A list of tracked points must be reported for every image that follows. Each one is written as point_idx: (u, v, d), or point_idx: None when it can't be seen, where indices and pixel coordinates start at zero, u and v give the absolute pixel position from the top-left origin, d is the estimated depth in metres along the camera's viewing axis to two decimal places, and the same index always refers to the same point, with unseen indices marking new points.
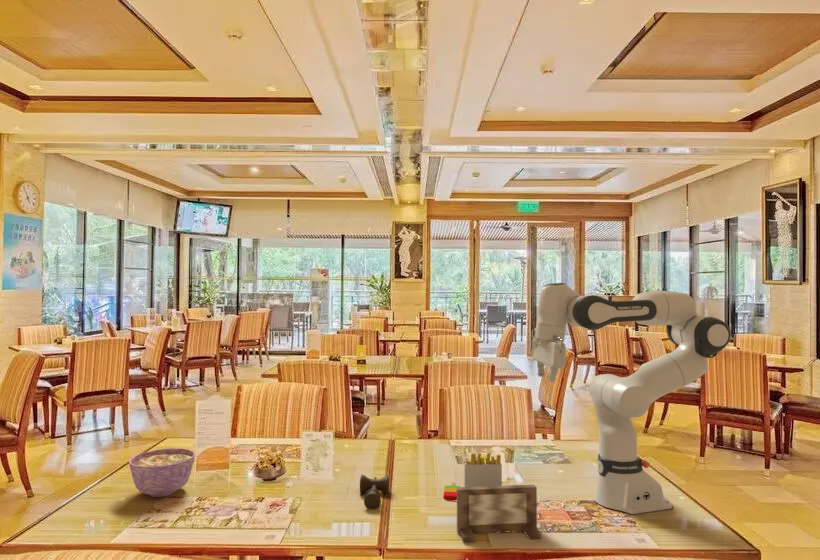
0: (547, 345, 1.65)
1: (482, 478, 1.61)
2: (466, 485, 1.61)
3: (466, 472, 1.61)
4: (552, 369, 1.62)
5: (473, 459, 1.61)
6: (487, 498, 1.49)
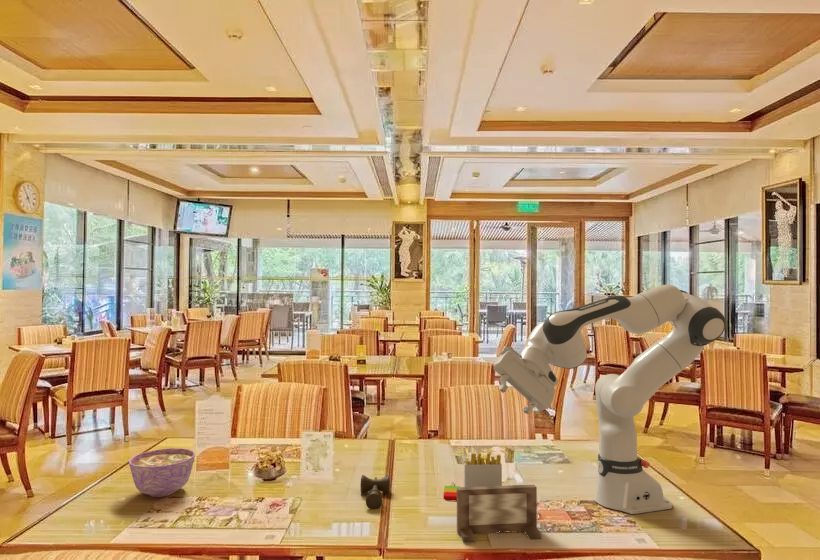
0: None
1: (482, 478, 1.61)
2: (466, 485, 1.61)
3: (466, 472, 1.61)
4: (501, 376, 1.55)
5: (473, 459, 1.61)
6: (487, 498, 1.49)
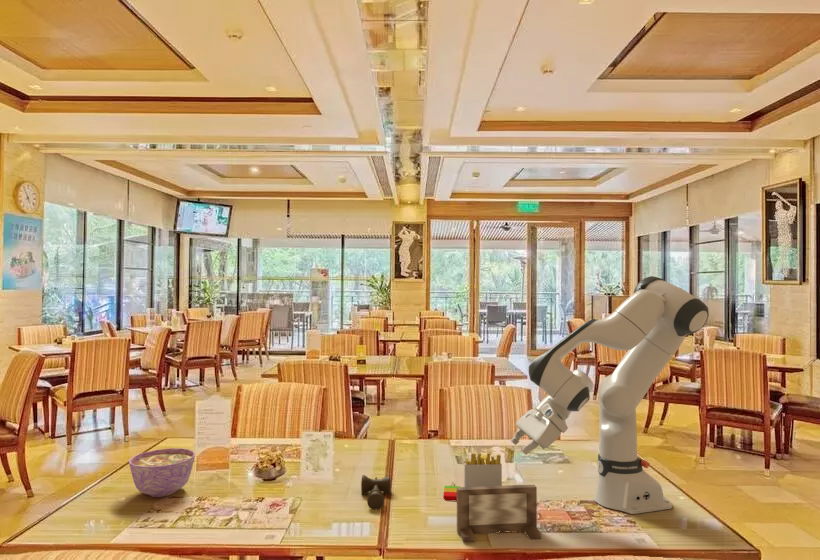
0: None
1: (482, 478, 1.61)
2: (466, 485, 1.61)
3: (466, 472, 1.61)
4: None
5: (473, 459, 1.61)
6: (487, 498, 1.49)
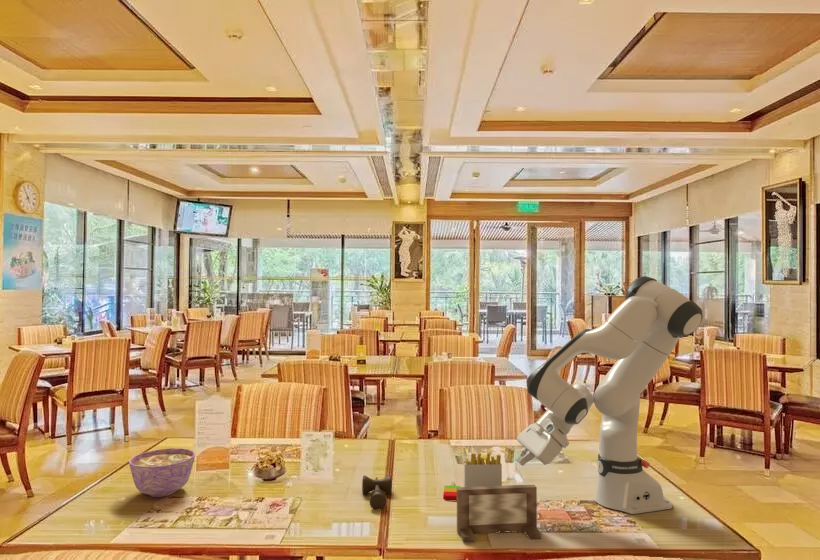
0: None
1: (482, 478, 1.61)
2: (466, 485, 1.61)
3: (466, 472, 1.61)
4: None
5: (473, 459, 1.61)
6: (487, 498, 1.49)
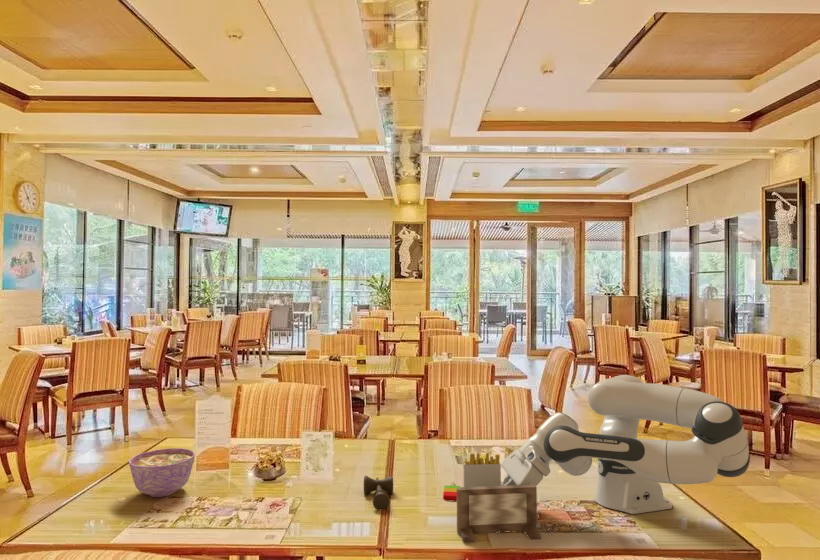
0: None
1: (481, 478, 1.61)
2: (465, 485, 1.61)
3: (465, 472, 1.61)
4: None
5: (472, 459, 1.61)
6: (487, 498, 1.49)
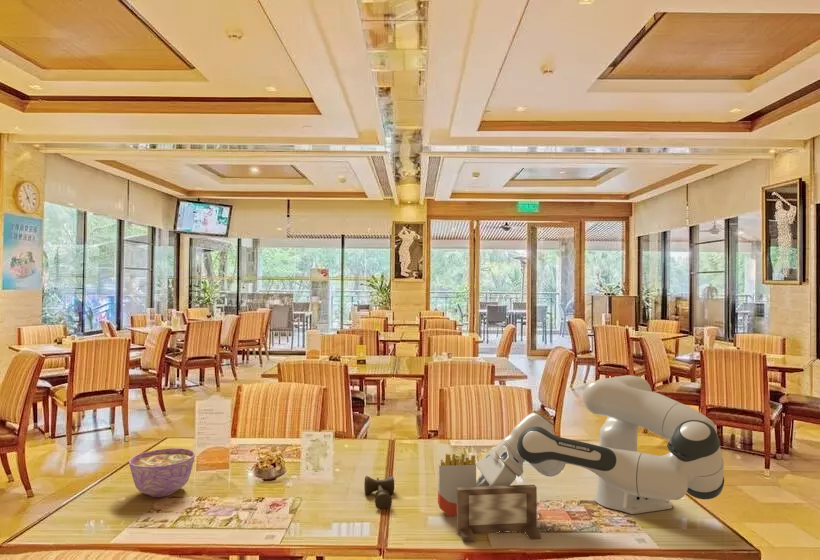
0: None
1: (456, 479, 1.60)
2: (440, 486, 1.60)
3: (441, 473, 1.60)
4: None
5: (448, 460, 1.60)
6: (487, 498, 1.49)
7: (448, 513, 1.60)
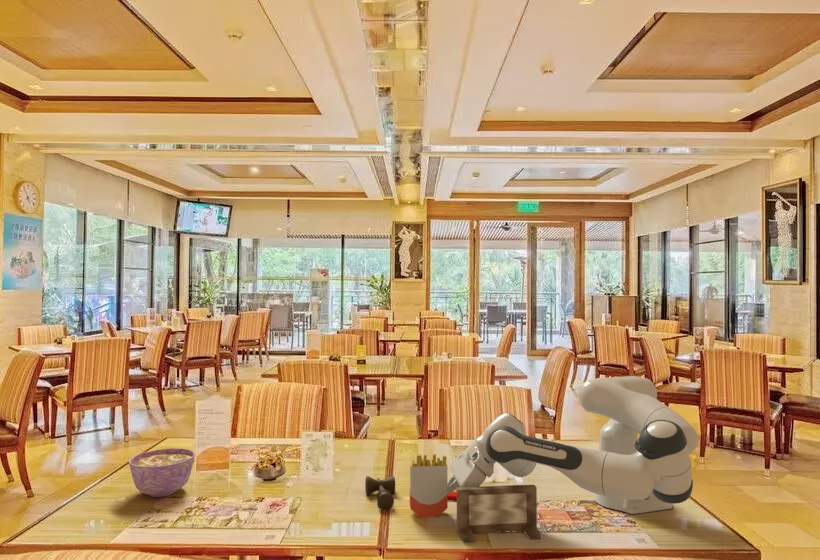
0: None
1: (428, 480, 1.60)
2: (412, 487, 1.59)
3: (412, 474, 1.59)
4: None
5: (419, 461, 1.59)
6: (487, 498, 1.49)
7: (419, 514, 1.59)
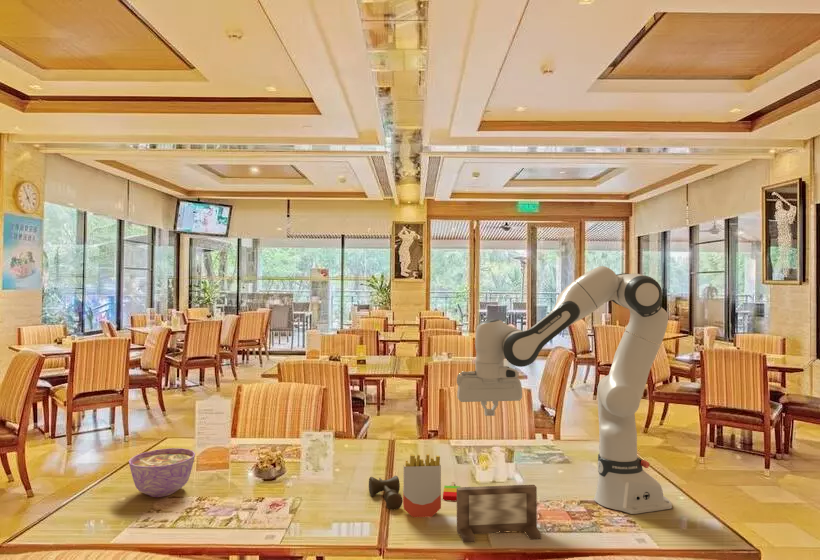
0: None
1: (421, 480, 1.60)
2: (405, 487, 1.59)
3: (405, 474, 1.59)
4: (481, 402, 1.71)
5: (412, 461, 1.59)
6: (487, 498, 1.49)
7: (413, 514, 1.59)
